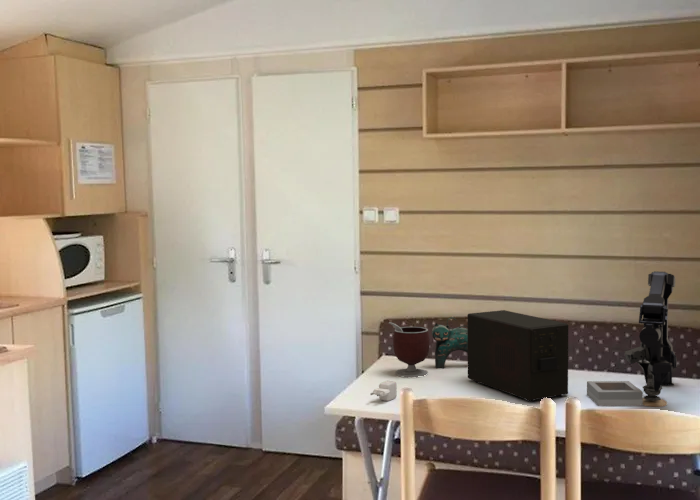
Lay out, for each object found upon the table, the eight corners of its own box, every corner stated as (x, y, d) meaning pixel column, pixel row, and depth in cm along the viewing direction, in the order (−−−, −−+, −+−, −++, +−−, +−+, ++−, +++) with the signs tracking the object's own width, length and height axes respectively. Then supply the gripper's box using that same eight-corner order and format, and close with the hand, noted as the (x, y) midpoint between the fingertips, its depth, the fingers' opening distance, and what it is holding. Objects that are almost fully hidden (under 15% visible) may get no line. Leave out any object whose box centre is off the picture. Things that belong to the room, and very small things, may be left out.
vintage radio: (579, 397, 257) (579, 323, 255) (533, 405, 248) (533, 329, 247) (508, 374, 291) (508, 308, 289) (466, 380, 282) (466, 313, 280)
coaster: (661, 399, 253) (661, 397, 253) (671, 406, 244) (671, 404, 244) (633, 399, 253) (633, 397, 253) (642, 406, 244) (642, 405, 244)
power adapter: (380, 406, 250) (380, 388, 250) (368, 403, 253) (367, 386, 253) (398, 398, 259) (398, 381, 259) (386, 396, 262) (386, 379, 262)
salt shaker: (657, 395, 251) (658, 359, 250) (664, 400, 246) (665, 363, 245) (639, 396, 251) (640, 360, 250) (646, 401, 246) (647, 364, 245)
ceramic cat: (433, 369, 300) (432, 319, 298) (430, 365, 306) (429, 316, 305) (483, 367, 302) (483, 317, 300) (479, 364, 308) (478, 314, 306)
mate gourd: (430, 369, 299) (430, 319, 298) (429, 378, 286) (428, 325, 284) (391, 369, 302) (390, 318, 300) (387, 377, 288) (387, 325, 287)
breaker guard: (628, 394, 260) (628, 381, 259) (642, 405, 246) (642, 391, 246) (586, 394, 260) (586, 381, 260) (598, 405, 246) (598, 392, 246)
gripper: (618, 334, 257) (618, 380, 258) (637, 346, 238) (636, 395, 239) (652, 334, 256) (651, 380, 258) (673, 345, 238) (672, 395, 239)
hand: (652, 387), depth 248 cm, fingers closed on salt shaker, 7 cm apart
